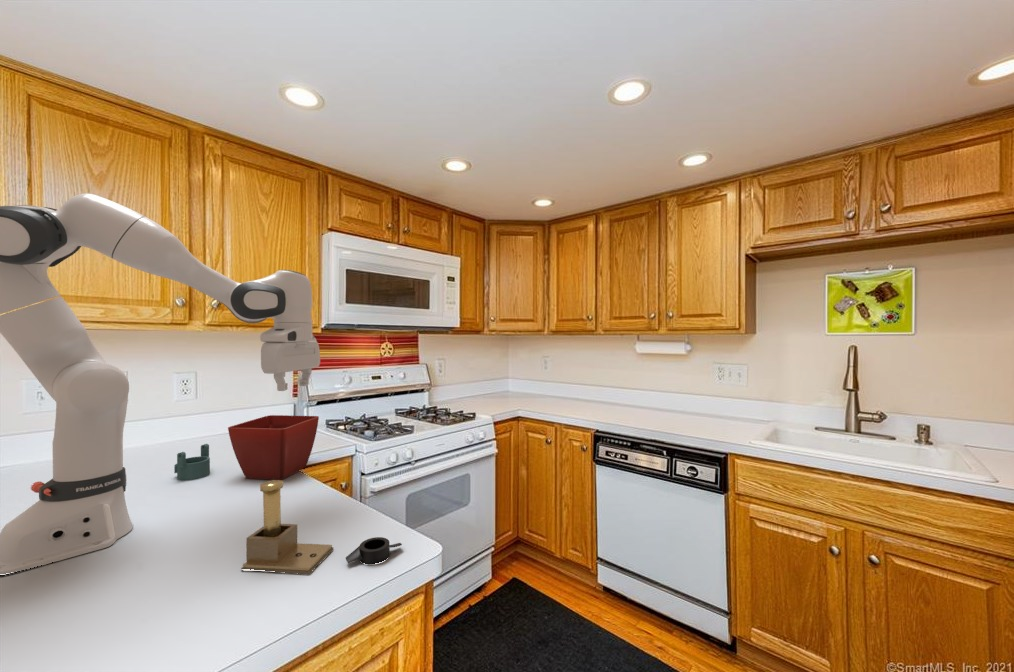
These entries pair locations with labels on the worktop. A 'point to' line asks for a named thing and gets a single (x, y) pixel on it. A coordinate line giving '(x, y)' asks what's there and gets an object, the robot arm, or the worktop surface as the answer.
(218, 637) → the worktop surface
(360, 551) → the black ring with tabs
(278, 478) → the plant pot
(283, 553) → the brass socket plate
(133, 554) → the worktop surface
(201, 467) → the bracket
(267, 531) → the hinge pin
